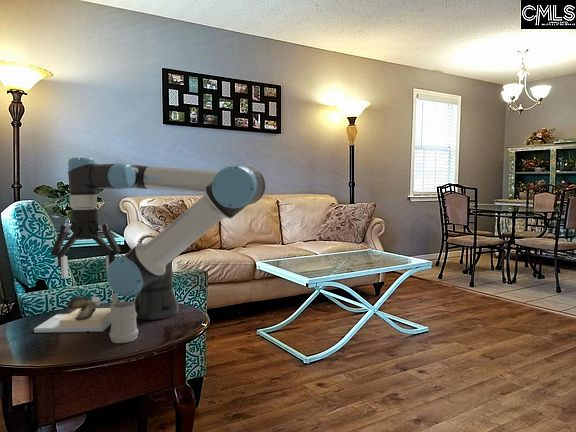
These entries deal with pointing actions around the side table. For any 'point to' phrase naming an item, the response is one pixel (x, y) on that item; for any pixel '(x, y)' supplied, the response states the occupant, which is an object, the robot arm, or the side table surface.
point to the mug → (122, 321)
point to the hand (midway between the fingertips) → (87, 277)
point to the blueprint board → (82, 329)
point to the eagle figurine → (84, 306)
